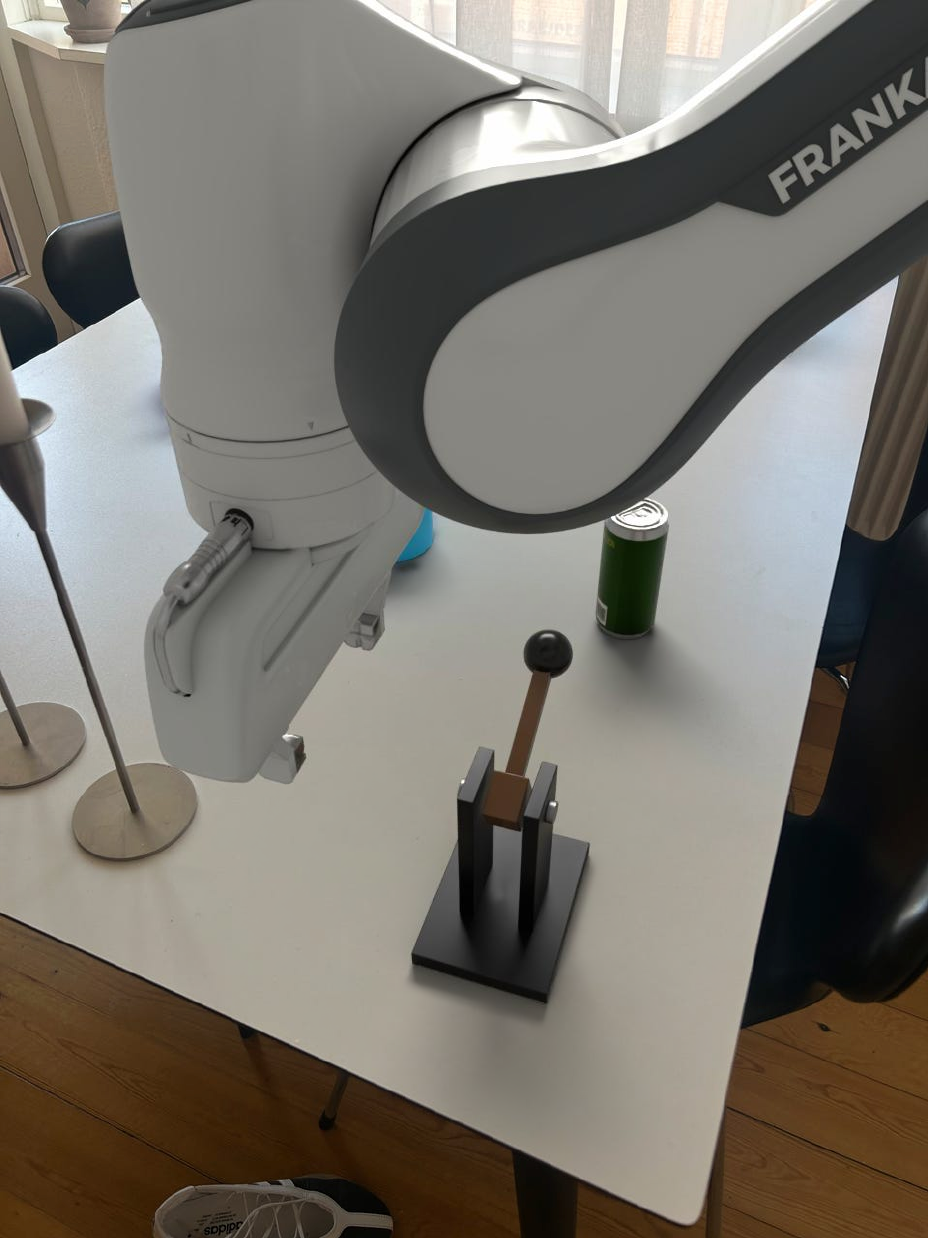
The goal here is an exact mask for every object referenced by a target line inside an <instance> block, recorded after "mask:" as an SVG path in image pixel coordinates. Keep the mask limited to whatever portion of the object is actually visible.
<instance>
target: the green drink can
mask: <svg viewBox="0 0 928 1238" xmlns="http://www.w3.org/2000/svg"><path fill="white" fill-rule="evenodd" d="M668 516H669V514H668V510H667V508H665V507H664V505H663V504H662V503H659V502H658V501H657V500H655V499H652V498H648V497H647V498H645V499H644V500H642V501H641V502H639V503H637V504H636V505H634V506H632V507H631V508H629V509H627V510H625V511H623V512H621V513H619V514H617V515H615V516H613V517H610V518H608V519H605V520H604V522H603V535H602V541H601V542H602V545H601V553H600V563H599V575H598V586H597V593H596V606H595V620H596V622H597V624H598V626H599V627H600V628H601V630H602V631H603V632H604V633H605V634H607V635H608V636H611V637H613V638H615V639H621V640H635V639H639V638H642V637H643V636H645V635H646V634H647V633H648V632H649V631H650V630H651V628H652V627H653V626H654V624H655V621H656V615H657V610H658V602H659V596H660V589H661V583H662V575H663V569H664V563H665V556H666V550H667V549H666V548H667V543H668V542H667V541H668V535H669V530H670V523H669V519H668V518H669V517H668Z"/></svg>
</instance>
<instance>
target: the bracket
mask: <svg viewBox="0 0 928 1238" xmlns="http://www.w3.org/2000/svg"><path fill="white" fill-rule="evenodd" d="M558 766H559V765H558V764H555V763H551V762H548V761H547V762H546V761H541V763H540V765H539V769H538V772H537V775H536V778H535V781H534V783H533V785H532V791H531V794H530V797H529V800H528V803H527V805H526V808H525V811H524V814H523V824H522V830H521V832H518V831H514V830H510V829H506V828H502V827H498V826H494V825H491V824H487V823H486V820H485V818H484V816H483V814H482V811H483V808H484V804H485V801H486V797H487V794H488V790H489V787H490V783H491V780H492V776H493V773H494V770H495V749H492V748H488V747H484V746H479V747H478V749H477V751H476V753H475V755H474V758H473V760H472V763H471V764H470V767H469V770H468V772H467V775H466V777H465V778H462V779H461V780H460V783H459V786H458V790H457V794H456V795H457V796H456V811H457V812H456V817H457V818H456V820H457V840H456V843H455V845H454V847H453V850H452V853H451V855H450V858H449V860H448V862H447V865H446V867H445V870H444V871H443V872H444V873H443V875H442V878H441V880H440V882H439V885H438V887H437V890H436V892H435V894H434V897H433V899H432V901H431V904H430V906H429V909H428V911H427V914H426V916H425V919H424V920H423V923H422V925H421V928H420V931H419V934H418V936H417V938H416V941H415V942H414V945H413V948H412V951H411V953H410V956H411V957H410V958H411V964H412V965H415V966H418V967H422V968H426V969H429V970H432V971H436V972H439V973H443V974H446V975H448V976H452V977H456V978H459V979H462V980H466V981H469V982H472V983H475V984H479V985H482V986H485V987H489V988H493V989H496V990H498V991H502V992H505V993H508V994H512V995H515V996H519V997H522V998H525V999H529V1000H532V1001H536V1002H539V1003H542V1004H546V1005H547V1004H548V1001H549V998H550V994H551V990H552V987H553V982H554V980H555V976H556V972H557V968H558V966H559V962H560V958H561V954H562V951H563V947H564V945H565V940H566V936H567V934H568V929H569V926H570V922H571V919H572V915H573V912H574V907H575V904H576V901H577V897H578V894H579V889H580V886H581V883H582V879H583V876H584V872H585V868H586V864H587V861H588V858H589V854H590V846H591V843H590V842H588V841H583V840H580V839H576V838H571V837H569V836H564V835H560V834H557V833H554V832H553V831H554V824H555V822H556V819H557V815H558V810H559V801H557V800H556V796H557V795H556V794H557V782H558V781H557V779H558V768H559V767H558Z"/></svg>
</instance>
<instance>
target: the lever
mask: <svg viewBox="0 0 928 1238" xmlns="http://www.w3.org/2000/svg"><path fill="white" fill-rule="evenodd" d="M522 654H523V655H522V656H523V661H524V664H525V666H526V668H527V669H528V670H529V672H531V674H532V675H531V678H530V681H529V685H528V689H527V691H526V696H525V699H524V702H523V707H522V711H521V714H520V718H519V721H518V725H517V727H516V731H515V735H514V739H513V742H512V745H511V749H510V752H509V756H508V760H507V764H506V767H505V771H502V770H497V769H494V773H493V776H492V780H491V783H490V787H489V790H488V794H487V797H486V801H485V804H484V808H483V811H482V814H483V816H484V818H485V820H486V823H487V824H491V825H494V826H498V827H502V828H506V829H510V830H514V831H518V832H521V830H522V824H523V814H524V811H525V808H526V805H527V803H528V800H529V797H530V794H531V791H532V788H533V786H532V784H531V781H530V778H529V777H526V774H527V769H528V767H529V763H530V759H531V756H532V751H533V748H534V744H535V740H536V737H537V733H538V729H539V725H540V722H541V719H542V716H543V715H542V714H543V711H544V708H545V703H546V700H547V697H548V692H549V688H550V685H551V681H552V679H556V678H558V677H561V676H562V675H563V674H565V673H567V671H568V670H569V668H570V667H571V665H572V662H573V659H574V658H573V657H574V650H573V647H572V643H571V641H570V640H569V639H568V637H567V636H566V635H564V634H563V633H562V632H560V631H558V630H555V629H549V628H548V629H547V628H545V629H541V630H538V631H536V632H534V633H533V634H531V635H530V637H528V639H527V640H526V642H525V644H524V647H523V653H522Z"/></svg>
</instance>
